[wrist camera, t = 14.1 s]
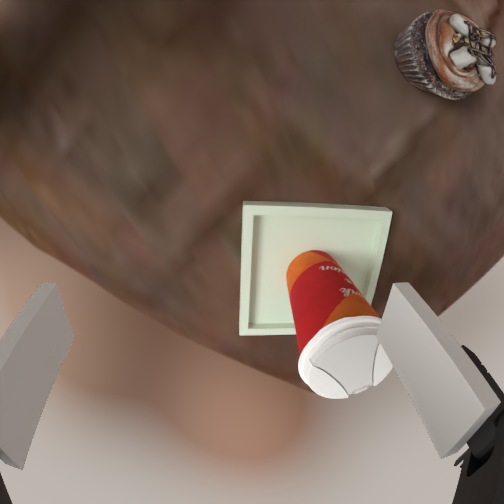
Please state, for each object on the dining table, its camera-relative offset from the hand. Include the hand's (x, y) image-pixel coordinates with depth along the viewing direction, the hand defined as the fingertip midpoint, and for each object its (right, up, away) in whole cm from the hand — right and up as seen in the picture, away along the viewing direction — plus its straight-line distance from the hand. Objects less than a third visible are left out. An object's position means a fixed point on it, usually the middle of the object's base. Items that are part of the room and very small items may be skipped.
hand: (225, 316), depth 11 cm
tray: (+8, 0, +24) cm, 26 cm away
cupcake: (+20, +24, +14) cm, 34 cm away
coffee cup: (+8, 0, +24) cm, 25 cm away
